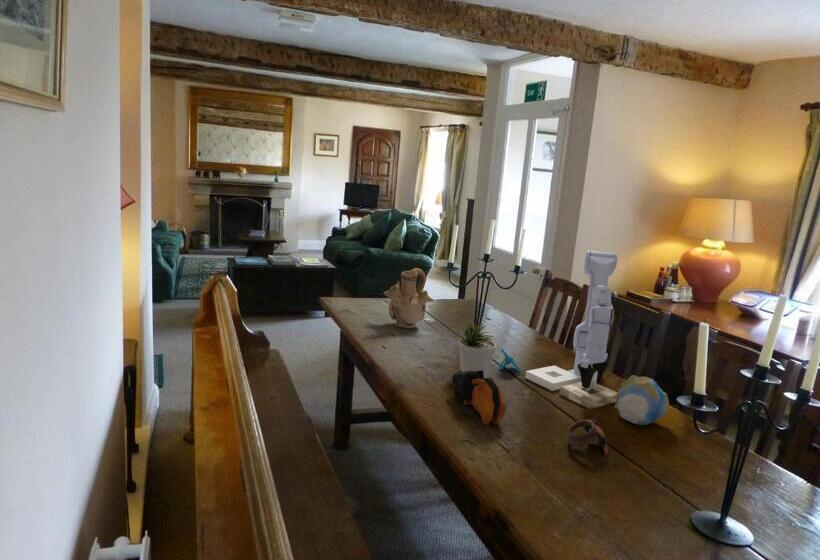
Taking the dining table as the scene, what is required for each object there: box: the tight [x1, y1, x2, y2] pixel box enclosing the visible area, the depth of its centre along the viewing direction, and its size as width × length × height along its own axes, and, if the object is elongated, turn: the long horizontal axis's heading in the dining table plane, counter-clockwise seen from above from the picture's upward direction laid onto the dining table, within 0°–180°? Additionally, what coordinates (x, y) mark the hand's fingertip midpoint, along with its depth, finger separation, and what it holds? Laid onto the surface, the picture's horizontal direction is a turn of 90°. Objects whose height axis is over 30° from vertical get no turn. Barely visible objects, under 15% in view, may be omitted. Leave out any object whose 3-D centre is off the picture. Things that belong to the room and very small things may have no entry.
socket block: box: [524, 365, 581, 392], centre depth 188 cm, size 14×12×2 cm
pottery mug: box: [566, 418, 609, 456], centre depth 144 cm, size 12×10×8 cm
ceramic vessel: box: [383, 267, 435, 329], centre depth 238 cm, size 18×19×25 cm
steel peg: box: [585, 370, 598, 394], centre depth 176 cm, size 3×3×9 cm
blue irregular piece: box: [498, 348, 522, 372], centre depth 196 cm, size 11×6×10 cm
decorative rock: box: [614, 375, 670, 426], centre depth 162 cm, size 14×16×15 cm
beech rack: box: [559, 382, 618, 410], centre depth 176 cm, size 14×12×2 cm
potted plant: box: [454, 319, 497, 379], centre depth 186 cm, size 13×14×20 cm
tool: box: [452, 370, 507, 426], centre depth 160 cm, size 8×23×15 cm, turn 20°
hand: (590, 384), depth 176 cm, fingers open, 7 cm apart
